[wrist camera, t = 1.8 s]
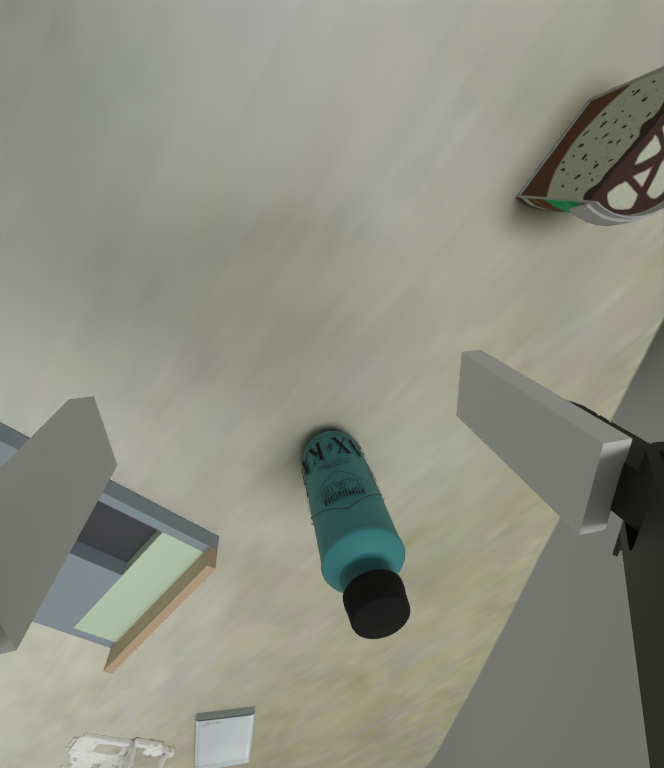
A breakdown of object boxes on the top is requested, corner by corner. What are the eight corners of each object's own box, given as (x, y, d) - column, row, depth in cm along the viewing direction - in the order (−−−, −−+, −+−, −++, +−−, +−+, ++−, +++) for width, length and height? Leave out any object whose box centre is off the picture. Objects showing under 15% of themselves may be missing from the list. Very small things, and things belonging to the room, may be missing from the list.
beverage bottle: (367, 452, 43) (450, 620, 25) (317, 483, 44) (363, 671, 25) (338, 409, 40) (407, 564, 22) (285, 443, 41) (310, 622, 23)
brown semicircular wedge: (545, 251, 38) (637, 261, 29) (505, 211, 36) (590, 209, 27) (638, 133, 35) (772, 103, 26) (601, 82, 33) (733, 30, 24)
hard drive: (195, 722, 54) (194, 772, 58) (255, 714, 56) (249, 764, 60) (196, 708, 56) (195, 758, 60) (255, 701, 57) (249, 750, 62)
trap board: (-183, 523, 35) (-240, 563, 31) (-82, 379, 32) (-131, 403, 28) (124, 634, 47) (111, 673, 43) (218, 536, 44) (215, 569, 40)
